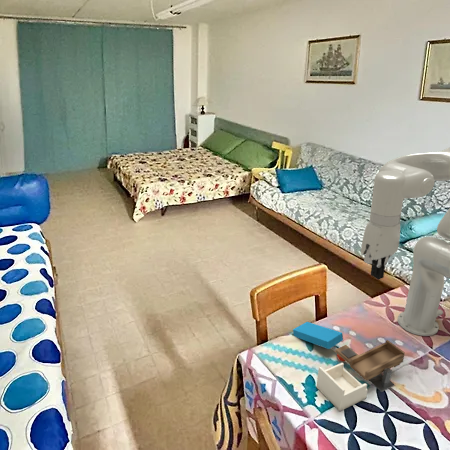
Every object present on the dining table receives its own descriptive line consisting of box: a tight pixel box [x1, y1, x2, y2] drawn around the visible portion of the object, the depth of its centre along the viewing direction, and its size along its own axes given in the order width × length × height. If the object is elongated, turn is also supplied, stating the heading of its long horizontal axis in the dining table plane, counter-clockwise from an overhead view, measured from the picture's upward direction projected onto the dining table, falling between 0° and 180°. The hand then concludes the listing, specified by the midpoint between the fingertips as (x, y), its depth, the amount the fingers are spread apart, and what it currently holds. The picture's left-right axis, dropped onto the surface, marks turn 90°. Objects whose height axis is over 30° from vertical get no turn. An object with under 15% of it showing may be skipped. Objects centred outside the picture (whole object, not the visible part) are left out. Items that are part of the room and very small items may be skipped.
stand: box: [367, 368, 396, 393], centre depth 112 cm, size 5×10×6 cm, turn 28°
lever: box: [292, 321, 346, 363], centre depth 124 cm, size 7×7×18 cm
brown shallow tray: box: [334, 339, 406, 382], centre depth 113 cm, size 14×12×5 cm
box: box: [316, 362, 369, 412], centre depth 106 cm, size 9×9×7 cm
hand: (376, 276), depth 113 cm, fingers closed
